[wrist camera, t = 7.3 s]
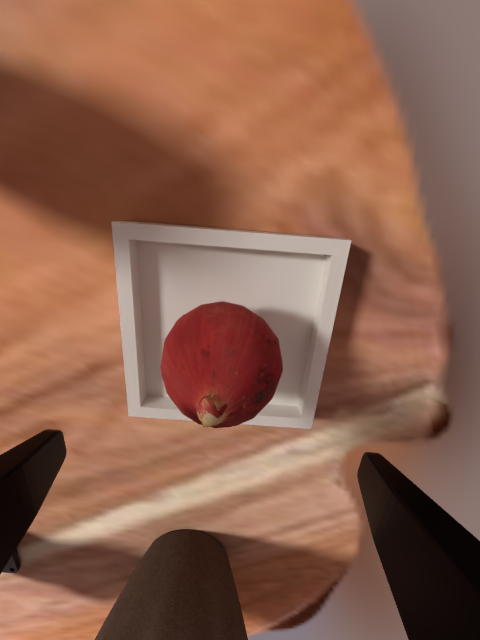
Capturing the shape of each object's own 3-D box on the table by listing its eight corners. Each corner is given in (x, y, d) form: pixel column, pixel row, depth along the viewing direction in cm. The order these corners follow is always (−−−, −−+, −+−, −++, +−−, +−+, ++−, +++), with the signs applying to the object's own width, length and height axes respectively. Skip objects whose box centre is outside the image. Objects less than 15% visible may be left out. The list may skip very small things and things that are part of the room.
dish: (305, 408, 20) (311, 428, 18) (139, 397, 20) (128, 416, 18) (338, 237, 16) (351, 240, 14) (127, 220, 16) (111, 221, 14)
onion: (285, 298, 16) (321, 369, 9) (260, 380, 18) (272, 494, 11) (187, 276, 16) (138, 329, 8) (172, 362, 18) (122, 468, 10)
